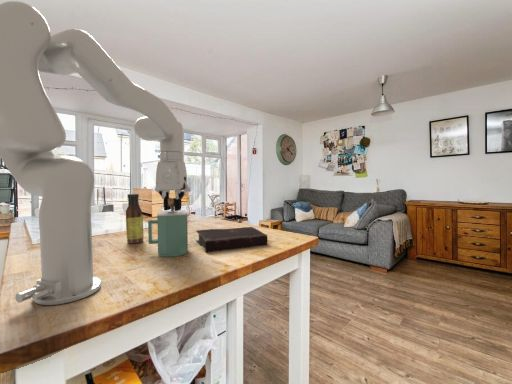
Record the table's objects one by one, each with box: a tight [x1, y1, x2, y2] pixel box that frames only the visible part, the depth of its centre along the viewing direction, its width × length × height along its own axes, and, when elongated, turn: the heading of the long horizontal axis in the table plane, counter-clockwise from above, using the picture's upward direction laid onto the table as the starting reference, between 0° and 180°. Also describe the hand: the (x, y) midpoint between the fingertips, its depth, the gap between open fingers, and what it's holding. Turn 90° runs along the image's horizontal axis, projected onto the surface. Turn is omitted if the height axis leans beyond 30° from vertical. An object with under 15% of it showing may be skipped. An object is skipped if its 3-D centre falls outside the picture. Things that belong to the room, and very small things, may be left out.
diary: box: [196, 226, 269, 253], centre depth 102 cm, size 19×25×5 cm
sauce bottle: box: [125, 193, 144, 244], centre depth 102 cm, size 6×6×20 cm
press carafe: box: [147, 209, 189, 258], centre depth 88 cm, size 10×13×14 cm
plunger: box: [167, 197, 176, 213], centre depth 88 cm, size 7×7×15 cm
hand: (172, 209), depth 88 cm, fingers closed on plunger, 3 cm apart
